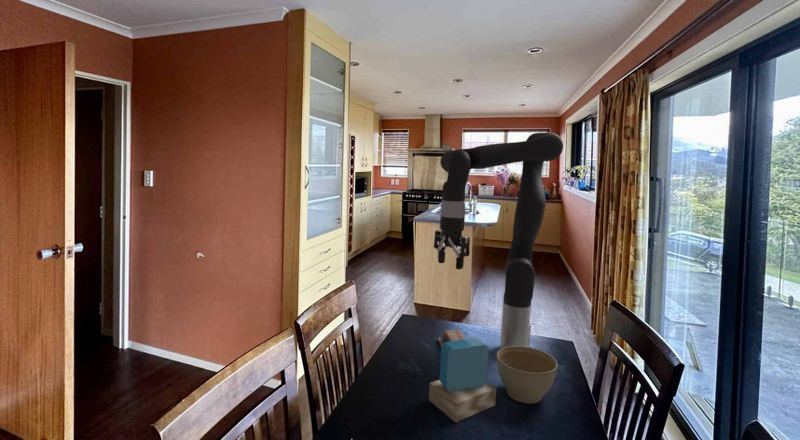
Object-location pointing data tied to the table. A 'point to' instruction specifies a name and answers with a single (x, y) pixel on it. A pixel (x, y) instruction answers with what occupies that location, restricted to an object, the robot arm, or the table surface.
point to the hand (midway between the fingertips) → (450, 265)
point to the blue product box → (463, 364)
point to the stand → (462, 400)
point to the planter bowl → (526, 372)
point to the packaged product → (450, 336)
